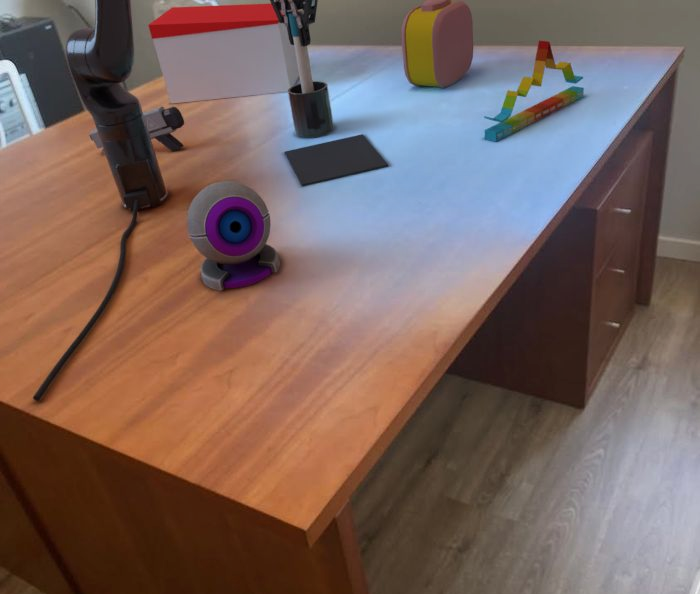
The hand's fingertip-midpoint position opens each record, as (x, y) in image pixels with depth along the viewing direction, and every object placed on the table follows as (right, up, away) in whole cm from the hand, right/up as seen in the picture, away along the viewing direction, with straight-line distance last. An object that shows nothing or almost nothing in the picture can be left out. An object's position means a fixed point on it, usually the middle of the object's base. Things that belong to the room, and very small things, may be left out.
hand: (300, 44), depth 158 cm
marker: (+2, -10, +7) cm, 13 cm away
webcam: (-7, -53, -38) cm, 66 cm away
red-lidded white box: (-21, +9, +51) cm, 56 cm away
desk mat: (+7, -26, -5) cm, 28 cm away
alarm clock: (+34, +2, +29) cm, 45 cm away
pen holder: (+3, -15, +11) cm, 19 cm away
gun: (-39, -19, +16) cm, 46 cm away
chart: (+51, -16, -1) cm, 54 cm away
